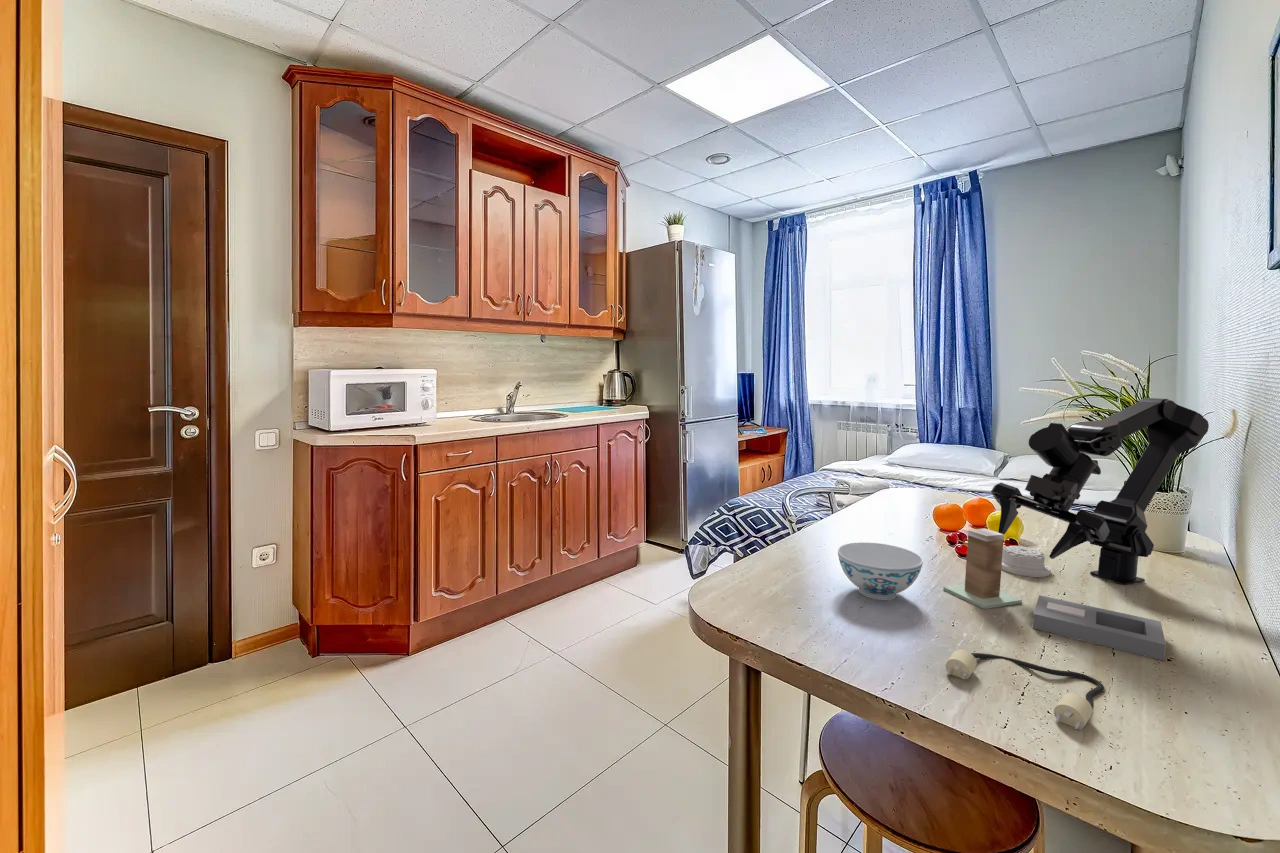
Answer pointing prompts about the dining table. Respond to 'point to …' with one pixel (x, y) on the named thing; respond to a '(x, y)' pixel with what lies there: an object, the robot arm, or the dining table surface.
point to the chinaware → (879, 568)
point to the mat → (985, 603)
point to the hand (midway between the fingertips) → (1024, 546)
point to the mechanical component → (1024, 561)
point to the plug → (984, 563)
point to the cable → (1071, 705)
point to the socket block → (1100, 626)
